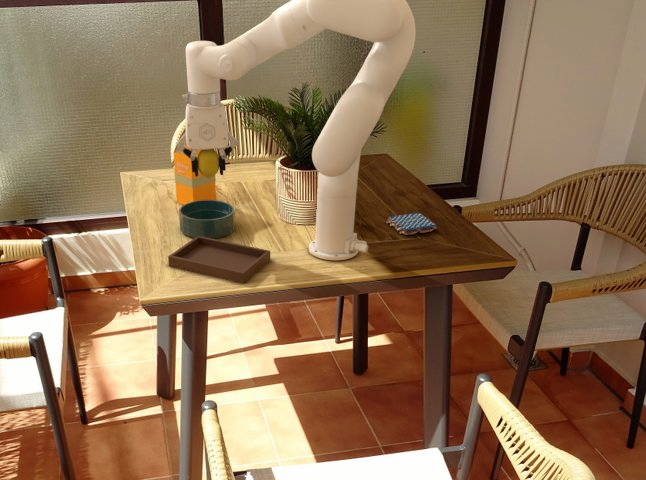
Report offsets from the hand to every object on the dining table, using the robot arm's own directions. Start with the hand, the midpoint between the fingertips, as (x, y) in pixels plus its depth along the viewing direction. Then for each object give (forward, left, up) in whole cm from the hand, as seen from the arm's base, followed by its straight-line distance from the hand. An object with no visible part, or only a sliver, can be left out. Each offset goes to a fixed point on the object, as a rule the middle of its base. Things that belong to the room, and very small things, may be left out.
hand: (209, 173), depth 182 cm
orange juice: (+17, -21, -17) cm, 32 cm away
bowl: (+4, -4, -17) cm, 18 cm away
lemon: (0, 0, -1) cm, 1 cm away
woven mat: (-45, -31, -17) cm, 57 cm away
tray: (-10, +13, -17) cm, 24 cm away
